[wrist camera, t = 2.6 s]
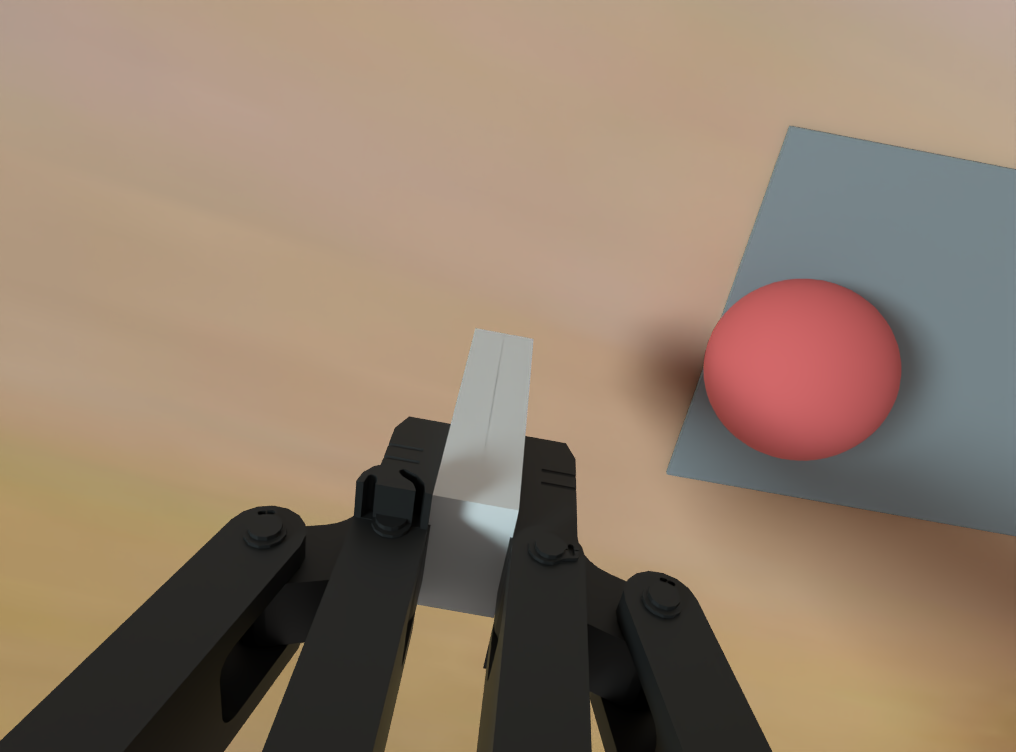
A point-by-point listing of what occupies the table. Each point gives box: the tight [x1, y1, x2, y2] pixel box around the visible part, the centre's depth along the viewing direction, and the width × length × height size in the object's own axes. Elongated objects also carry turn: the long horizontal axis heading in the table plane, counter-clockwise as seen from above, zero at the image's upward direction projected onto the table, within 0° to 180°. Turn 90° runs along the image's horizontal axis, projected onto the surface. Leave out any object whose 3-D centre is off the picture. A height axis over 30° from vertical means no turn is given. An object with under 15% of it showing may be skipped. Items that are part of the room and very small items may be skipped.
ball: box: [704, 279, 901, 461], centre depth 23 cm, size 6×6×6 cm
